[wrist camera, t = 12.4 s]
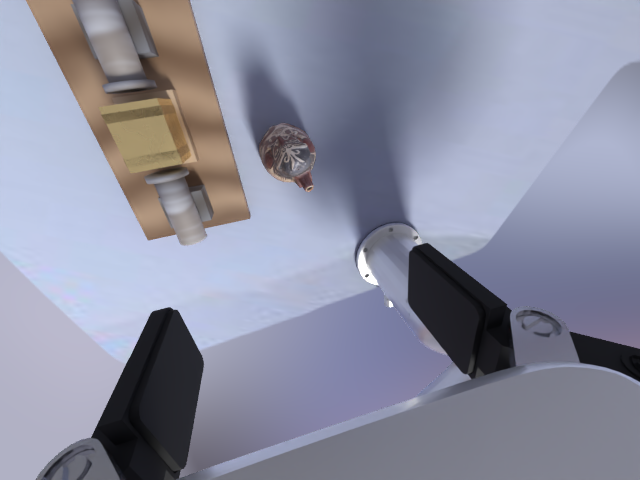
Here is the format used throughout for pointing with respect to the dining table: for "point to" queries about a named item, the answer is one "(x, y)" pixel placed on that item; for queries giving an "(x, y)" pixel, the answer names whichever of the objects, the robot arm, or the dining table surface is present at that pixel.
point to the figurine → (288, 155)
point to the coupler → (147, 134)
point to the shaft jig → (142, 84)
